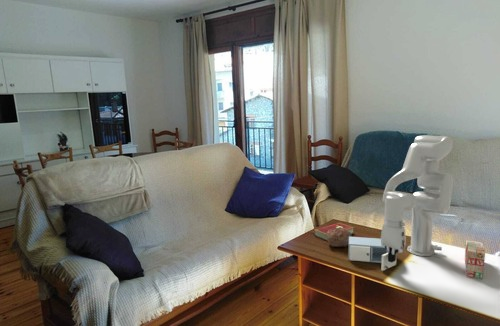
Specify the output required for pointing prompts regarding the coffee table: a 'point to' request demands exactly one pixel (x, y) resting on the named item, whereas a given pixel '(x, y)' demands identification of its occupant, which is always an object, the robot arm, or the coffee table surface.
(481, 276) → the stack of blocks
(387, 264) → the left door
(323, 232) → the hardcover book
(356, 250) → the cabinet
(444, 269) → the coffee table surface
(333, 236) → the decorative rock
